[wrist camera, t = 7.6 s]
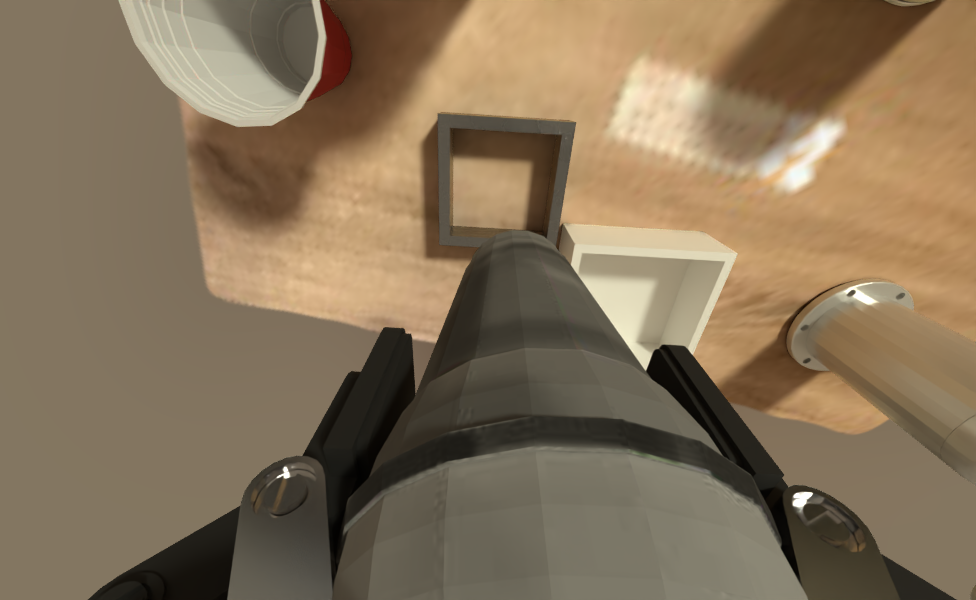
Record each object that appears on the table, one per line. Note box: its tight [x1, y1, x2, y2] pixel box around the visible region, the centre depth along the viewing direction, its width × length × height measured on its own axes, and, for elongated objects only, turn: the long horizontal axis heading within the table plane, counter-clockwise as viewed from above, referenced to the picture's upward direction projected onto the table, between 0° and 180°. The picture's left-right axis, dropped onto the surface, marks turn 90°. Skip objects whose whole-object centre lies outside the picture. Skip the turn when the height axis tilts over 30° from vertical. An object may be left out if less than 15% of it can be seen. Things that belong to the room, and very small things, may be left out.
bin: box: [559, 223, 738, 371], centre depth 37 cm, size 15×15×6 cm
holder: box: [438, 112, 576, 247], centre depth 33 cm, size 11×11×3 cm
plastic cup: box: [118, 0, 352, 127], centre depth 24 cm, size 11×11×12 cm
